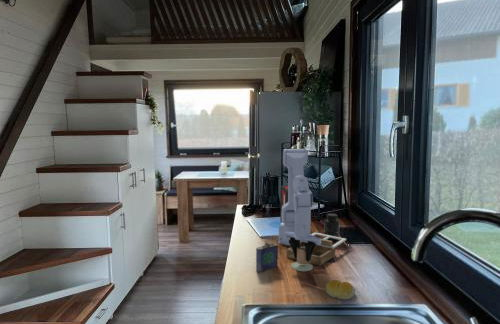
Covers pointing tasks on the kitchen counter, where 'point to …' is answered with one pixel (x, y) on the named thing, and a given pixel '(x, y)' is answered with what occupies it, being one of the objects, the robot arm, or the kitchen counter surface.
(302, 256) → the brown cylinder
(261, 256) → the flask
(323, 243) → the frame
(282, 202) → the cleaning product box
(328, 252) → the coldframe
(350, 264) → the kitchen counter surface
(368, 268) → the kitchen counter surface
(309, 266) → the saucer
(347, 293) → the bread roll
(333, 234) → the supplement bottle
